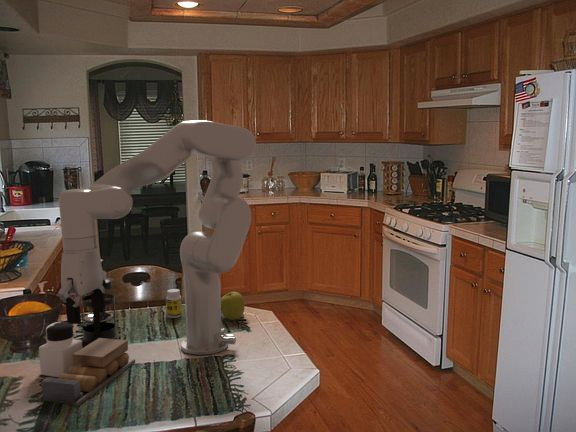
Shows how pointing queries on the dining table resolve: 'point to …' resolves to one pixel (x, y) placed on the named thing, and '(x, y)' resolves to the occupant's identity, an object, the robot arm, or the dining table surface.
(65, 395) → the block
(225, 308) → the apple
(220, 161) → the robot arm
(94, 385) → the roller
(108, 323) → the french press
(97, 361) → the slab
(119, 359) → the track
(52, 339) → the medicine bottle
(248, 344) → the dining table surface
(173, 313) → the supplement bottle
